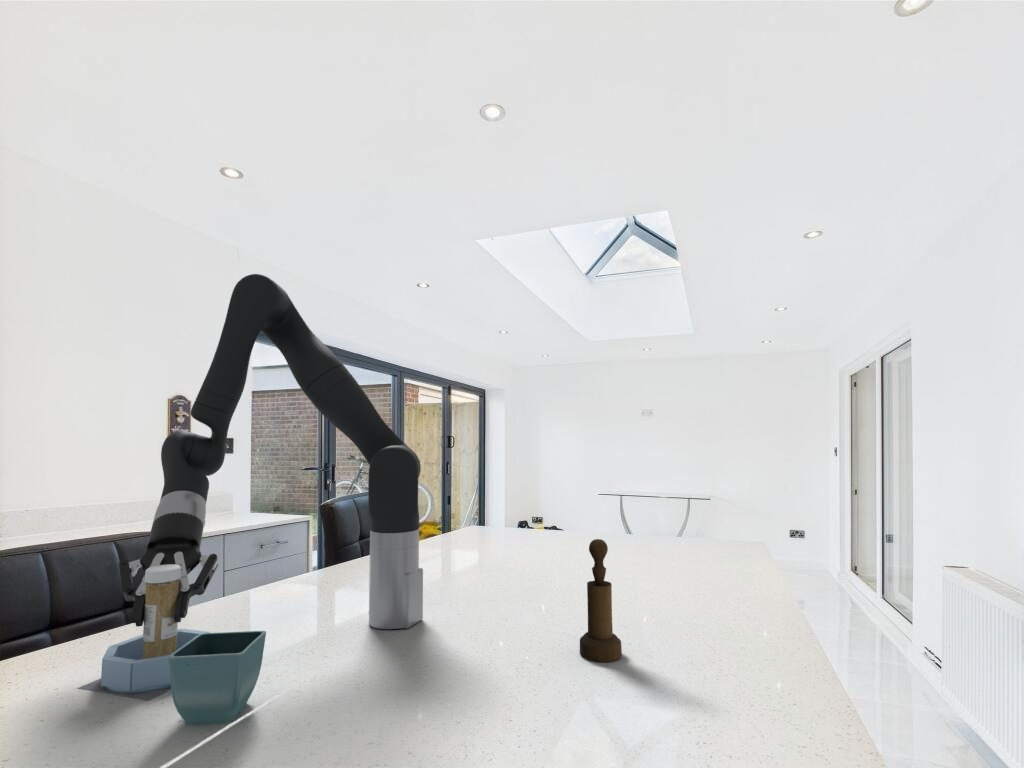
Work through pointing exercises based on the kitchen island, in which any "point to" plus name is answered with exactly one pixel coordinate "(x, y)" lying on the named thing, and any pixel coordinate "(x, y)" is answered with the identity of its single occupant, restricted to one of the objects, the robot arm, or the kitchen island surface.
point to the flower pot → (215, 675)
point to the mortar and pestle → (599, 612)
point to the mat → (143, 696)
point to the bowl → (138, 665)
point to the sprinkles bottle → (160, 610)
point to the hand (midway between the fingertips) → (158, 621)
